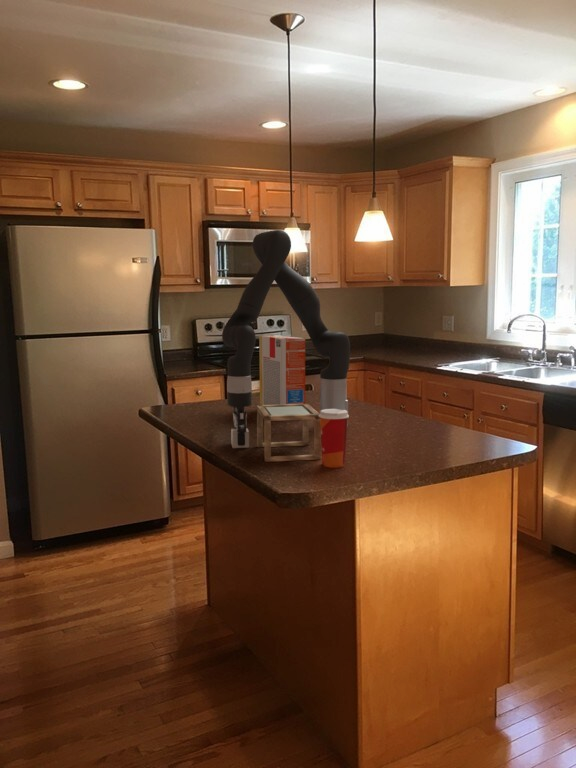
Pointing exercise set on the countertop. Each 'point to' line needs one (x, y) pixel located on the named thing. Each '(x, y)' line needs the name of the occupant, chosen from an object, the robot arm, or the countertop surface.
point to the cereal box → (282, 370)
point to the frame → (268, 444)
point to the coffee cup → (333, 436)
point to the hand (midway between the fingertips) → (240, 442)
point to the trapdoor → (286, 410)
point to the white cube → (235, 439)
